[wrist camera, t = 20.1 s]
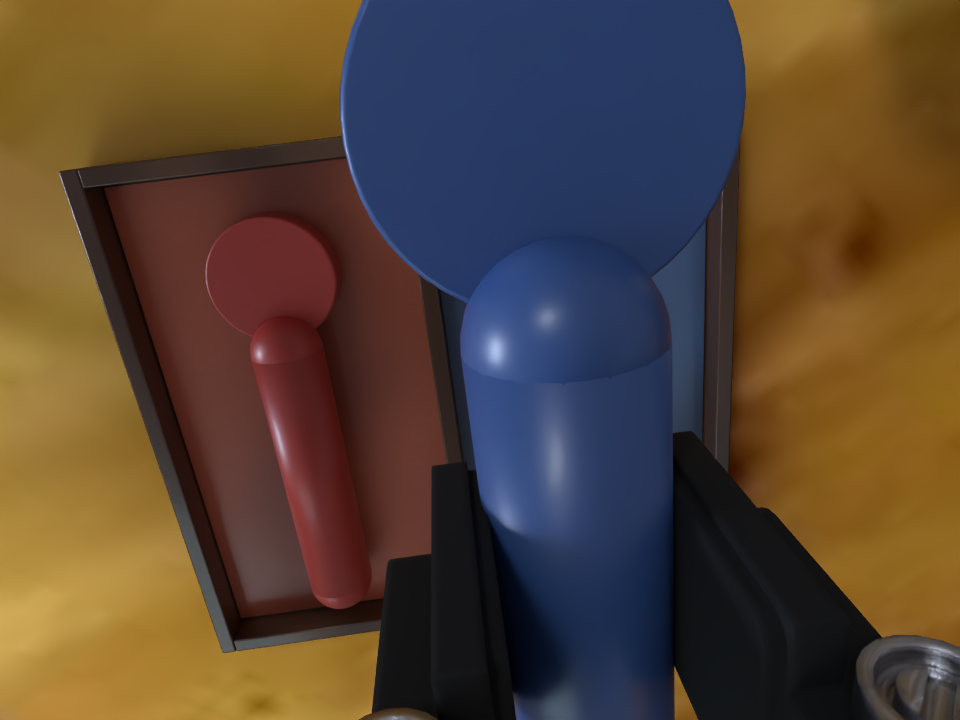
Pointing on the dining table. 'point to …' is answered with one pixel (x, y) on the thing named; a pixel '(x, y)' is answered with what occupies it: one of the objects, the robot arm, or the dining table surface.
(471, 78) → the blue spoon
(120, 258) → the sorting tray
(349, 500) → the red spoon
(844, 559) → the dining table surface
